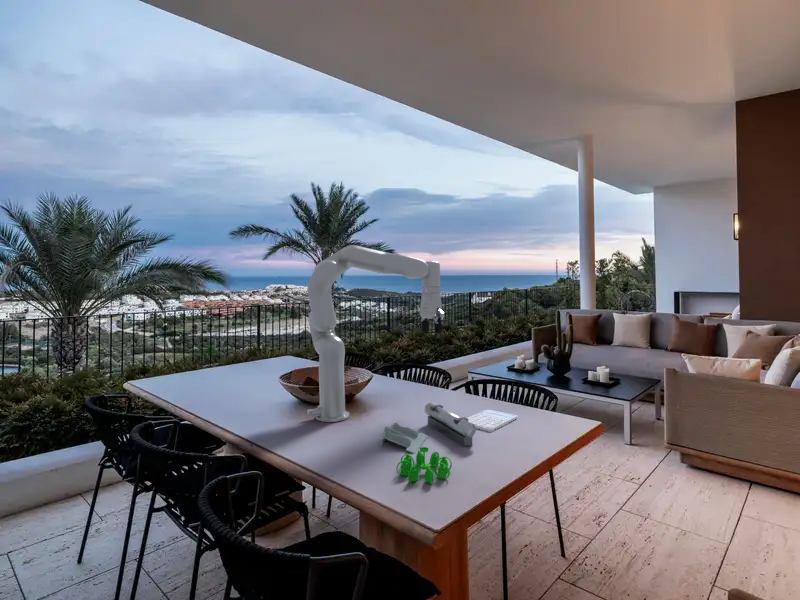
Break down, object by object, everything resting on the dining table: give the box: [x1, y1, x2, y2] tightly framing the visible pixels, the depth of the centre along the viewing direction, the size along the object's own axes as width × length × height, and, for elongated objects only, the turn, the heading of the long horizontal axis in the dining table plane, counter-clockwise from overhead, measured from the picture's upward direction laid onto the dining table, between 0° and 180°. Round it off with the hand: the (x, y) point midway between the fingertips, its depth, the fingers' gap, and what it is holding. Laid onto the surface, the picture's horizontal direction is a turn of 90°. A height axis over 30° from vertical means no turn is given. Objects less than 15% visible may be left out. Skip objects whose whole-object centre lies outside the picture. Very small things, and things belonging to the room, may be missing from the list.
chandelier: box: [396, 446, 453, 485], centre depth 114 cm, size 15×15×7 cm
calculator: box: [466, 409, 519, 433], centre depth 157 cm, size 13×20×2 cm, turn 137°
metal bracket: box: [380, 422, 429, 454], centre depth 137 cm, size 14×6×15 cm
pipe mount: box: [424, 402, 477, 448], centre depth 144 cm, size 4×26×7 cm, turn 24°
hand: (431, 332), depth 179 cm, fingers open, 9 cm apart
